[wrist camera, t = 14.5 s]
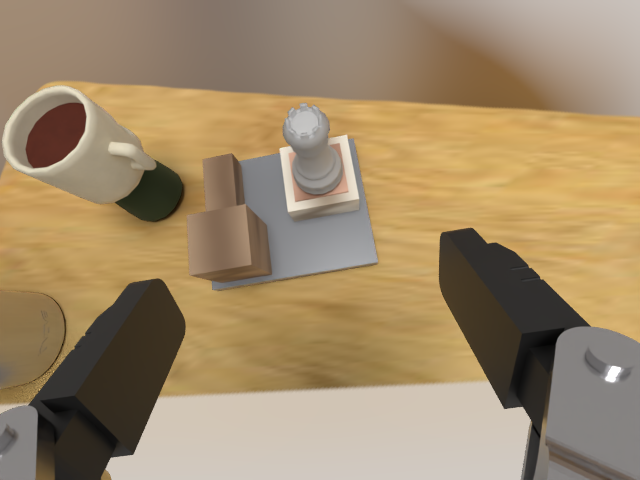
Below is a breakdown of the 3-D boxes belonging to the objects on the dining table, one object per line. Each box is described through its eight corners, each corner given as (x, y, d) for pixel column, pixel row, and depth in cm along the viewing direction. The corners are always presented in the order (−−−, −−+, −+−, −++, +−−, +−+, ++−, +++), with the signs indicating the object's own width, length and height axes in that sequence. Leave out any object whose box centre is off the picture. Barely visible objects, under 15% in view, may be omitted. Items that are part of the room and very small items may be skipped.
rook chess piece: (353, 176, 28) (351, 123, 20) (313, 206, 27) (295, 163, 20) (323, 141, 29) (311, 78, 21) (284, 170, 29) (257, 116, 21)
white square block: (294, 221, 31) (287, 211, 28) (286, 163, 32) (279, 147, 29) (359, 209, 30) (359, 198, 27) (347, 151, 32) (346, 133, 29)
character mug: (212, 170, 35) (128, 88, 22) (196, 232, 33) (97, 182, 20) (124, 162, 36) (1, 80, 24) (106, 220, 35) (-37, 166, 22)
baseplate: (217, 290, 31) (212, 289, 30) (209, 173, 34) (204, 168, 33) (377, 264, 30) (378, 262, 29) (353, 144, 33) (353, 138, 32)
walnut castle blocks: (222, 283, 30) (189, 275, 24) (214, 170, 33) (183, 139, 27) (272, 274, 30) (251, 264, 24) (259, 161, 33) (238, 128, 27)
